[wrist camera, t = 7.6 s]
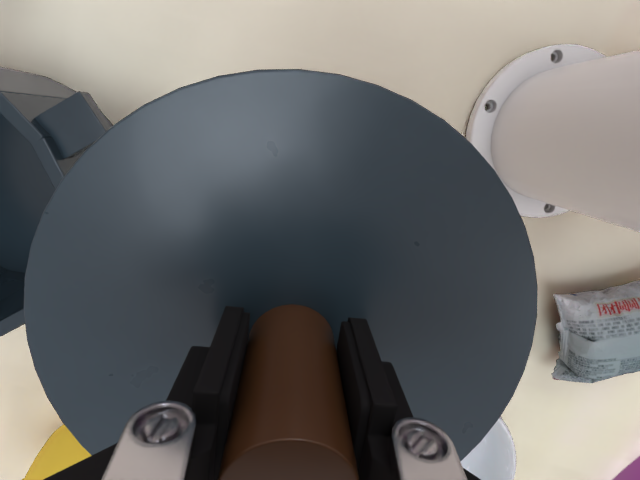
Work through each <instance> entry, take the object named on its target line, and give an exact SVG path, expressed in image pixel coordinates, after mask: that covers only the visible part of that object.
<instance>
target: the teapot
mask: <svg viewBox="0 0 640 480" xmlns="http://www.w3.org/2000/svg"><path fill="white" fill-rule="evenodd" d="M90 456H92V455H91V454H90V453H89V452H88V451H87V450H85V449H84V448H83V447H82V446H81V444H80V443H79V442H78V441H77V440H76V438H75V437H74V436H73V435H72V433H71V432H70V431H69V430H68V428H67V427H66V426H65V425H64V424H63V425H62V426H61V427H60V428H58V429H57V430H56V431H55V432H54V433H53V434H52V435H51V436H50V438H49V439H48V440H47V442H46V443H45V445H44V446H43V447H42V449H41V450H40V452H39V453H38V455H37V456H36V458H35V460H34V462H33V463H32V465H31V467H30V469H29V471H28V472H27V474H26V476H25V478H24V479H22V480H43V479H45V478H47V477H49V476H51V475H53V474H55V473H57V472H59V471H61V470H63V469H66V468H68V467H70V466H72V465H74V464H76V463H78V462H80V461H82V460H84V459H86V458H88V457H90Z"/></svg>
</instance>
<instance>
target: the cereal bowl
mask: <svg viewBox="0 0 640 480" xmlns="http://www.w3.org/2000/svg"><path fill="white" fill-rule="evenodd" d="M461 464H462V467H463V468H464V469H466V470H467V471H469V472H470V473H472V474H473V475H475V476H476V477H478V478H479V479H481V480H514V476H515V471H516V451H515V445H514V442H513V438H512V436H511V434H510V431H509V429H508V427H507V425H506V424H505V423H504V421H503V419H502V417H501V416H500V418H499V419H498V421H497V422H496V423H495V424H494V426H493V427H492V428H491V429H490V431H489V432H488V433H487V435H486V436H485V437H484V438H483V440H482V441H481V442H480V443H479V444H478V445H477V446H476V447H475V448H474V449H473V450H472V451H471V452H470V453H469V454H468V455H467V456H466V457H465V458H464V459H463V460H462V461H461Z"/></svg>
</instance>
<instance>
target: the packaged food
mask: <svg viewBox="0 0 640 480" xmlns="http://www.w3.org/2000/svg"><path fill="white" fill-rule="evenodd" d="M553 296H554V299H555V301H556V304H557V309H558V312H559V316H560V322H559V323H557V324H556V327H557V330H558V331H559V337H558V339H559V344H560V349H561V350H560V351H559V352H558V355H559V359H557V360H556V366H555V368H556V369H555V368H554V372H553V373H552V376H553V379H556V380H566V381H573V382H585V383H594V382H597V381H601V380H604V379H608V378H611V377H615V376H619V375H623V374H626V373H634V372H637V371H640V279H639V280H636V281H633V282H630V283H627V284H624V285H620V286H616V287H609V288H607V289H603V290H599V291H586V292H579V293H571V294H553Z"/></svg>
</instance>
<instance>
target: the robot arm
mask: <svg viewBox="0 0 640 480" xmlns="http://www.w3.org/2000/svg"><path fill="white" fill-rule="evenodd" d="M485 104H487V105H488V108H487V109H486V110H485ZM466 139H467V140H468V141H469V142H470V143H472V145H473V146H474V147H475V148H476V149H477V150H478V151H479V153H480V154H481V155H482V156H483V157H484V158H485V159H486V161H487V162H488V163H489V164H490V165H491V166H492V167H493V169H494V170H495V171H496V173H497V175H498V176H499V178H500V179H501V181H502V182H503V184H504V185H505V187H506V189H507V190H508V192H509V193H510V195H511V196H512V198H513V200H514V203H515V205H516V207H517V209H518V212H519V214H520V216H523V217H534V218H542V217H551V216H555V215H559V214H562V213H566V212H568V211H574V212H577V213H580V214H583V215H586V216H589V217H593V218H596V219H599V220H602V221H605V222H609V223H612V224H615V225H618V226H621V227H624V228H628V229H631V230H634V231H637V232H640V50H637V51H632V52H627V53H623V54H618V55H613V56H609V57H606V56H605V55H603V54H602V53H600V52H598V51H596V50H594V49H592V48H589V47H585V46H581V45H577V44H558V45H552V46H547V47H543V48H540V49H536V50H533V51H530V52H528V53H526V54H524V55H522V56H520V57H518V58H516V59H514V60H513V61H512V62H510V63H509V64H508V65H506V66H505V67H504V68H502V69H501V70H500V71H499V72H498V73H497V74H496V75H495V76H494V77H493V78H492V79H491V80H490V82H489V83H488V84H487V85H486V87H485V88H484V90H483V91H482V93H481V94H480V96H479V97H478V99H477V101H476V104H475V106H474V108H473V110H472V113H471V115H470V119H469V123H468V127H467V131H466ZM249 322H250V313H247V312H244V308H243V307H232V306H226V307H225V309H224V312H223V315H222V317H221V320H220V322H219V325H218V328H217V330H216V333H215V335H214V338H213V341H212V343H211V346H210V347H202V346H192V347H191V348H190V350H189V352H188V354H187V357H186V359H185V361H184V363H183V365H182V367H181V369H180V372H179V374H178V376H177V378H176V380H175V382H174V384H173V387H172V389H171V391H170V393H169V395H168V397H167V399H166V401H158V402H155V403H151V404H148V405H146V406H144V407H142V408H140V409H139V410H138V411H136V412H135V413H134V414H133V415H132V416H131V417H130V418H129V420H128V421H127V423H126V425H125V427H124V429H123V432H122V434H121V436H120V438H119V441H118V443H116V444H114V445H112V446H110V447H108V448H106V449H104V450H102V451H100V452H98V453H96V454H94V455H92V456H90V457H88V458H86V459H84V460H82V461H80V462H78V463H76V464H74V465H72V466H70V467H68V468H66V469H63V470H61V471H59V472H57V473H55V474H53V475H51V476H49V477H47V478H45V479H43V480H218V475H219V471H220V466H221V462H222V457H223V453H224V448H225V444H226V441H227V436H228V431H229V427H230V422H231V418H232V413H233V408H234V404H235V399H236V395H237V390H238V386H239V381H240V376H241V372H242V367H243V363H244V358H245V353H246V349H247V344H248V333H249ZM336 353H337V358H338V364H339V369H340V375H341V381H342V386H343V392H344V398H345V403H346V409H347V414H348V420H349V426H350V431H351V437H352V443H353V448H354V454H355V459H356V465H357V471H358V476H359V480H481V479H479V478H478V477H476V476H475V475H473V474H472V473H470V472H469V471H467V470H466V469H464V468H463V467H462V464H461V462H460V459H459V457H458V454H457V452H456V449H455V447H454V444H453V442H452V441H451V439H450V437H449V436H448V435H447V434H446V433H445V431H444V430H443V429H441V428H440V427H438V426H437V425H436V424H434V423H432V422H430V421H427V420H425V419H421V418H417V417H413V415H412V412H411V410H410V407H409V405H408V402H407V400H406V397H405V395H404V392H403V390H402V387H401V385H400V382H399V380H398V377H397V375H396V372H395V370H394V367H393V365H392V363H391V362H384V361H381V358H380V355H379V353H378V350H377V347H376V344H375V341H374V339H373V336H372V333H371V330H370V327H369V325H368V322H367V320H366V319H362V318H351V317H349V318H348V320H347V322H345V321H342V322H341V326H340V332H339V338H338V344H337V350H336Z"/></svg>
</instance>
